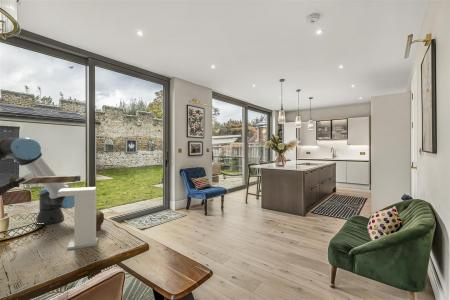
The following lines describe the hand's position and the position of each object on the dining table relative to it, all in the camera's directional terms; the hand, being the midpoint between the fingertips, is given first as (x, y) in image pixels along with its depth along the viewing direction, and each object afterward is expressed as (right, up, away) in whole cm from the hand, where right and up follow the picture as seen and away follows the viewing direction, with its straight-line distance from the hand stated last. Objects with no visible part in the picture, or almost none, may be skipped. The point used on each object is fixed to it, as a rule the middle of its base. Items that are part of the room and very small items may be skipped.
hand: (34, 174), depth 110 cm
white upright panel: (+16, -38, +9) cm, 43 cm away
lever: (+6, -4, +3) cm, 8 cm away
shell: (+13, -38, +29) cm, 49 cm away
